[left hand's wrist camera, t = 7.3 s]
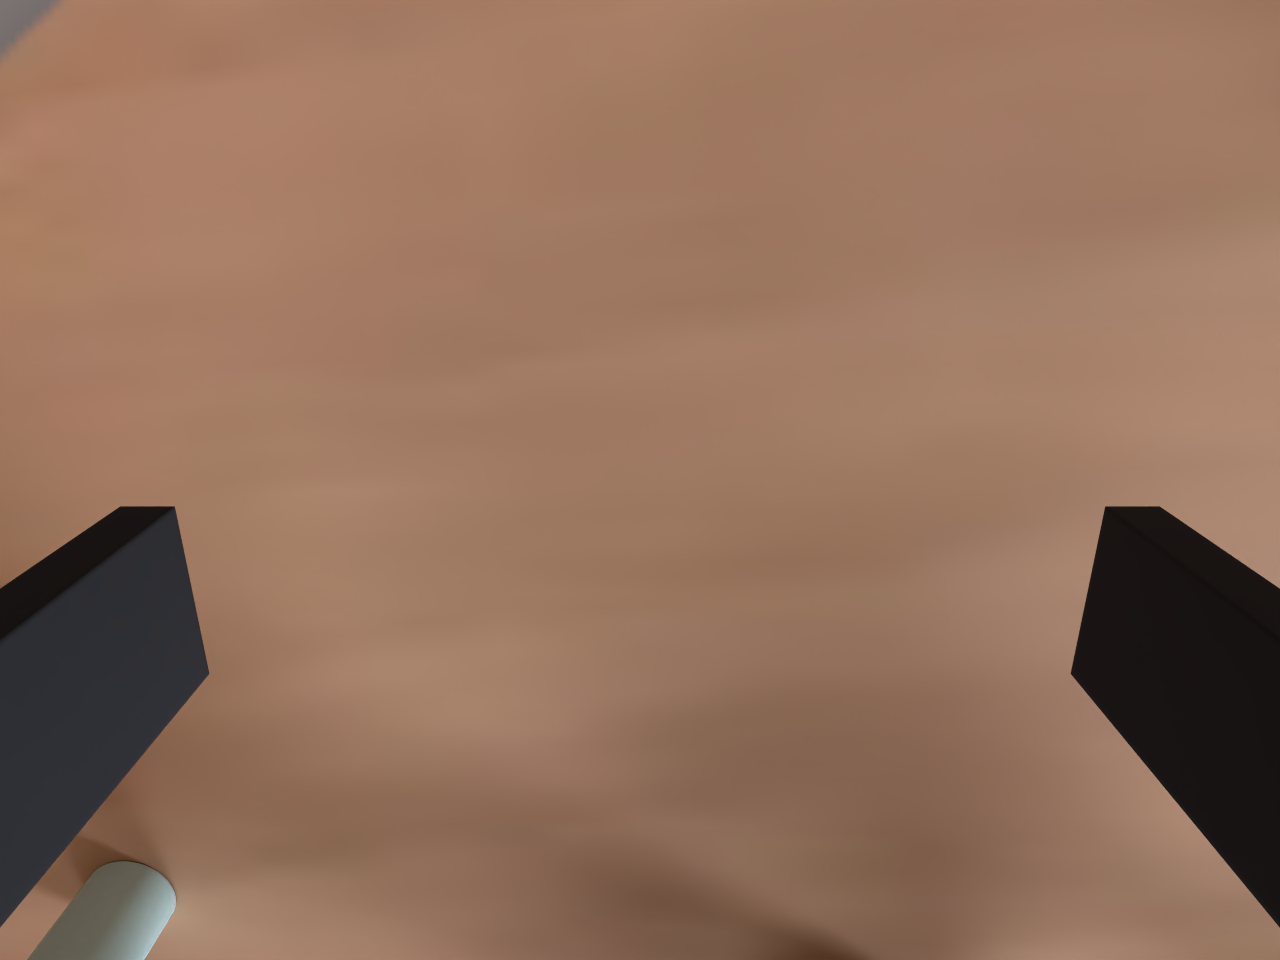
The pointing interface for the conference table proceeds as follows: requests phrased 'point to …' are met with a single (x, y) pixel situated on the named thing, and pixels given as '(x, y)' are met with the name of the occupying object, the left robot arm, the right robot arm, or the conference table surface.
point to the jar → (111, 916)
